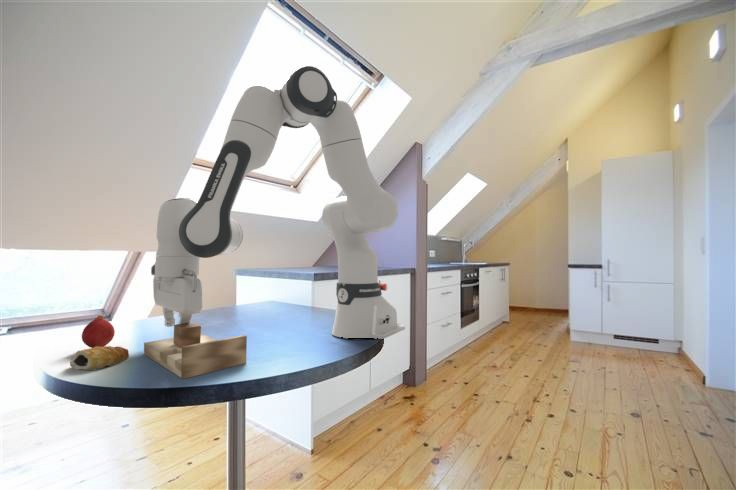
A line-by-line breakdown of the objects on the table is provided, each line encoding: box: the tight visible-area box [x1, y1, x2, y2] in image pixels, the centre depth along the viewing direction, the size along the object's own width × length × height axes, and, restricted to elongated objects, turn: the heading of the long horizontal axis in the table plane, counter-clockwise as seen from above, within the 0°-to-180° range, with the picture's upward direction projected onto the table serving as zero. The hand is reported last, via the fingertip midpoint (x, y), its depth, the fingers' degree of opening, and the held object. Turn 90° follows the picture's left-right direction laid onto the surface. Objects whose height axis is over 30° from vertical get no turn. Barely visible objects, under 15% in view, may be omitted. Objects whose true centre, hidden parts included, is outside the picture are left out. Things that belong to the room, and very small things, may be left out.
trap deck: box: [143, 333, 248, 380], centre depth 73 cm, size 12×22×6 cm, turn 48°
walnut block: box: [173, 321, 202, 348], centre depth 74 cm, size 4×4×4 cm
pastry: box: [69, 345, 130, 371], centre depth 70 cm, size 9×7×4 cm
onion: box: [81, 314, 116, 348], centre depth 78 cm, size 6×6×8 cm
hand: (176, 329), depth 79 cm, fingers open, 7 cm apart
